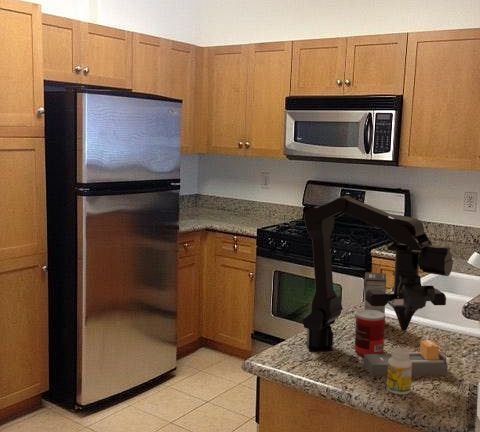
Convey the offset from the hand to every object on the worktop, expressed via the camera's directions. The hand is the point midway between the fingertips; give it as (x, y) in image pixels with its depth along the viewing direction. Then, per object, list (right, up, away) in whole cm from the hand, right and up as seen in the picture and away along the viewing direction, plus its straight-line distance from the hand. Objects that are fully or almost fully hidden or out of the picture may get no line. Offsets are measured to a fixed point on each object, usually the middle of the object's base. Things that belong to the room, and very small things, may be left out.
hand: (403, 330), depth 141 cm
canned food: (-6, -9, +13) cm, 17 cm away
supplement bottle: (-4, -12, -10) cm, 16 cm away
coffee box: (+1, -6, +35) cm, 35 cm away
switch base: (+1, -10, +2) cm, 11 cm away
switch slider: (+7, -7, +2) cm, 10 cm away
